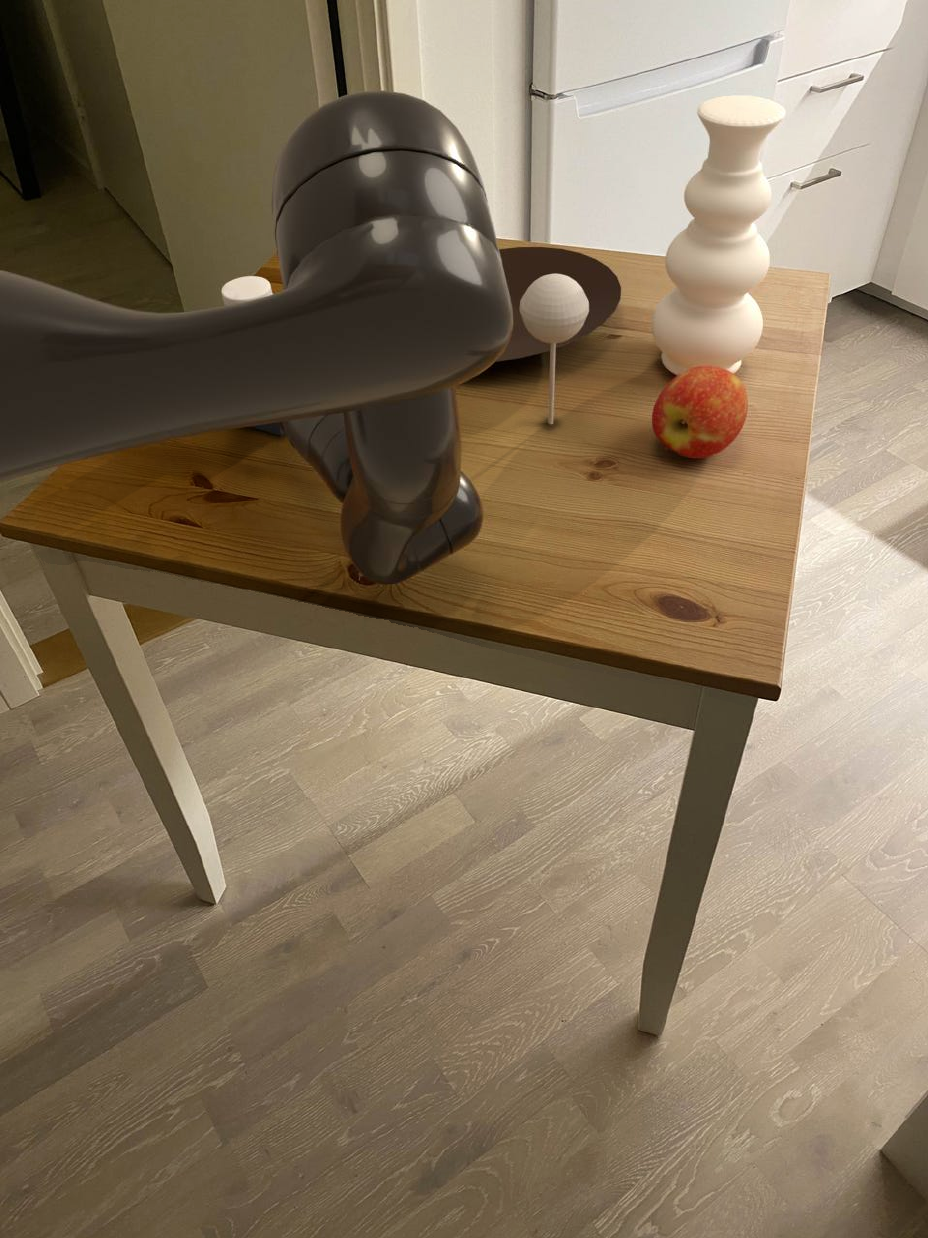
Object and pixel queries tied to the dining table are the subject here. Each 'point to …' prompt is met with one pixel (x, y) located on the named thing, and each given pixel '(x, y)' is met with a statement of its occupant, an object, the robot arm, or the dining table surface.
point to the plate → (542, 261)
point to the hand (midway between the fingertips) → (260, 334)
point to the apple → (700, 411)
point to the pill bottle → (245, 290)
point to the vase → (720, 243)
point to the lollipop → (554, 315)
